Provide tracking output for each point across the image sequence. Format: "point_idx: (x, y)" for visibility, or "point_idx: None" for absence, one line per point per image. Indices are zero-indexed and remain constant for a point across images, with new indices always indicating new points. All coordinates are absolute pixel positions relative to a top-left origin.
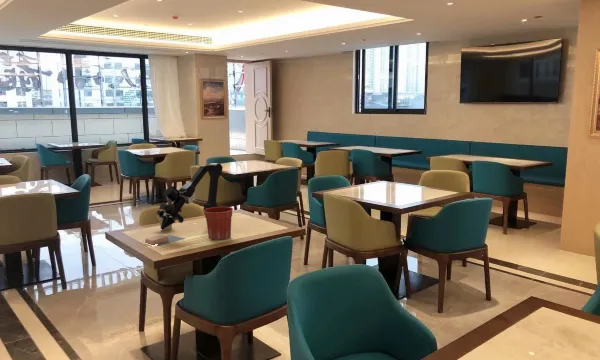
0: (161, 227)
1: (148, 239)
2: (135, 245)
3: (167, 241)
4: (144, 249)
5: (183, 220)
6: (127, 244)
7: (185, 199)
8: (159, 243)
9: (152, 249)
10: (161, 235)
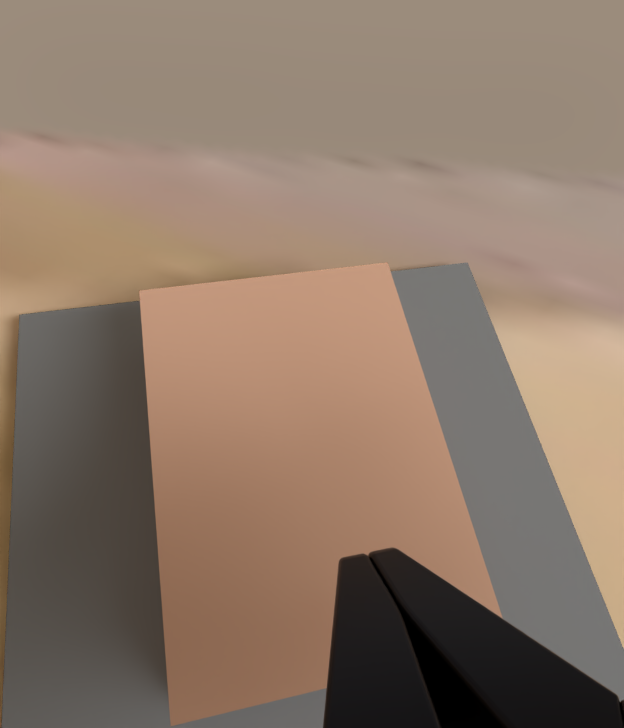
0: (367, 567)
1: (279, 275)
2: (409, 215)
3: None
4: (112, 213)
5: None
6: (526, 175)
7: None
8: None
9: (3, 279)
10: None
